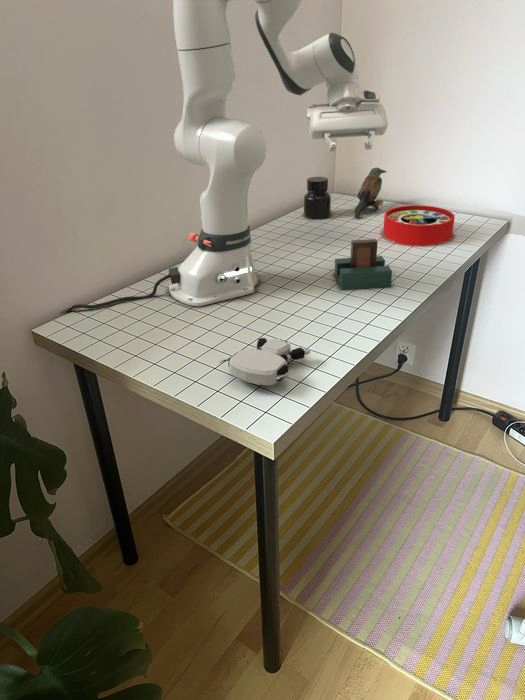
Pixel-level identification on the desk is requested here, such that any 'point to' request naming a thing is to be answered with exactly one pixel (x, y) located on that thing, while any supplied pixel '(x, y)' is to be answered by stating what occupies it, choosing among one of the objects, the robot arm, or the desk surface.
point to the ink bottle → (317, 198)
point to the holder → (362, 275)
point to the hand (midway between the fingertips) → (350, 149)
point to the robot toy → (264, 361)
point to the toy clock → (418, 225)
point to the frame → (363, 253)
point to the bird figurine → (369, 192)
